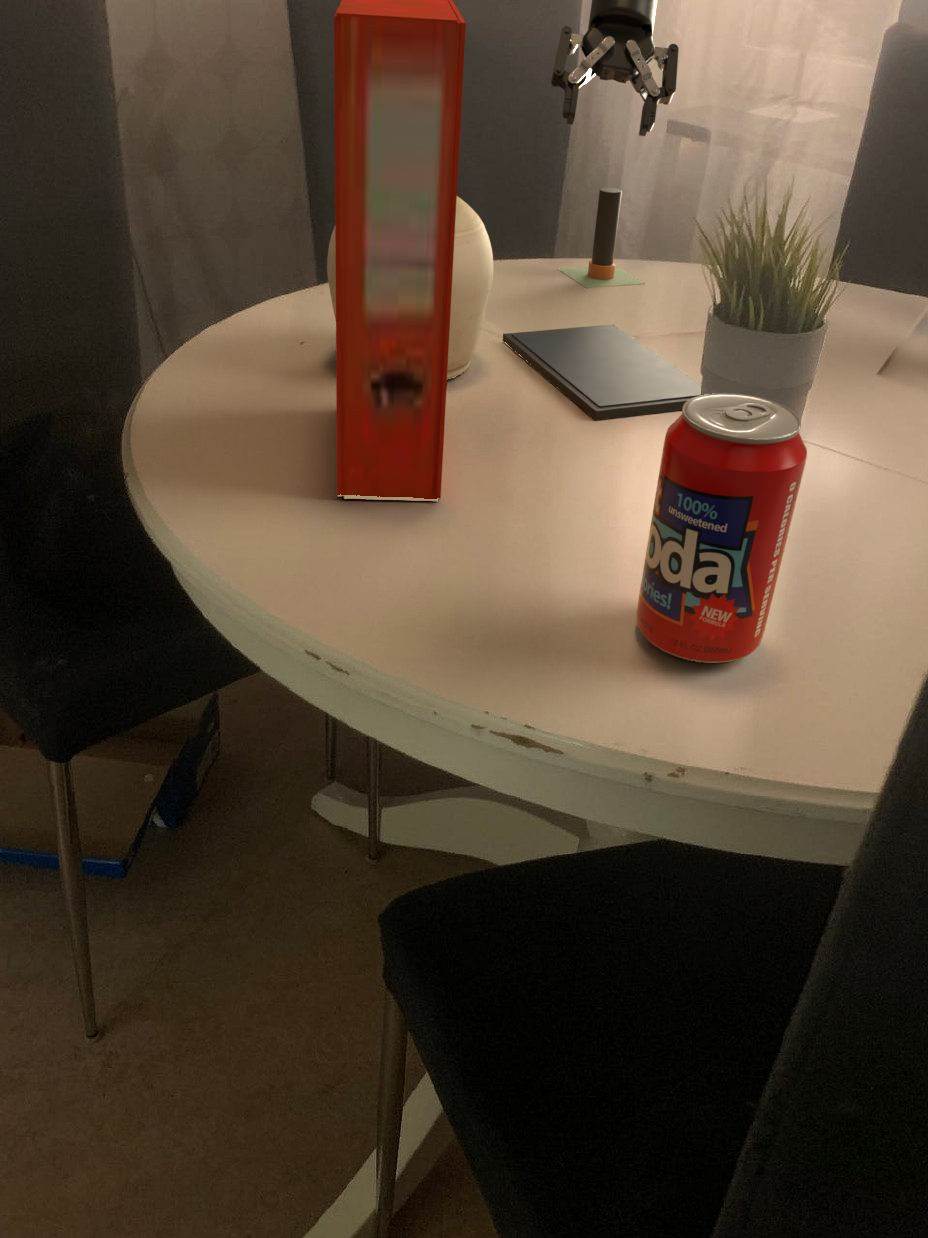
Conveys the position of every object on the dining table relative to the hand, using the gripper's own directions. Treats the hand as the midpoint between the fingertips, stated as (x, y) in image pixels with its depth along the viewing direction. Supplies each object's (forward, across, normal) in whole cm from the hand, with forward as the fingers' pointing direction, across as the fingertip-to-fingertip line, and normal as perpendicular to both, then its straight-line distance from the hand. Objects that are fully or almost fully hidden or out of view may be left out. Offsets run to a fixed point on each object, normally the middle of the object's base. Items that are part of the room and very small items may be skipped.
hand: (607, 126), depth 125 cm
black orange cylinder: (+14, +2, +8) cm, 17 cm away
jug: (+36, -18, -16) cm, 43 cm away
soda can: (+62, +4, -53) cm, 81 cm away
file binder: (+48, -17, -32) cm, 61 cm away
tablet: (+34, +1, -16) cm, 38 cm away
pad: (+15, +2, +8) cm, 17 cm away
